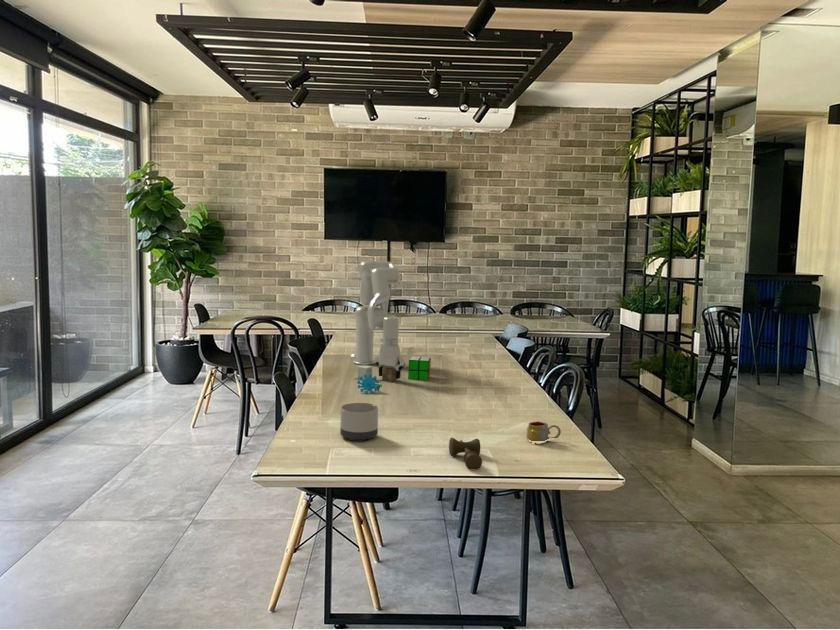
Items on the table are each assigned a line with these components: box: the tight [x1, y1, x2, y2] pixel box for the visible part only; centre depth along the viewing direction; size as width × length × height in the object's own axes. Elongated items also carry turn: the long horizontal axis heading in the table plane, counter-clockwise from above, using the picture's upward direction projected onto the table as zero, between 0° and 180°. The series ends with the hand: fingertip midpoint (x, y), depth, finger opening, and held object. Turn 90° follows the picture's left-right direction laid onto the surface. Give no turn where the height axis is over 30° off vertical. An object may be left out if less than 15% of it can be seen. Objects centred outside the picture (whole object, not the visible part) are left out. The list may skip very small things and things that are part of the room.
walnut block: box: [381, 366, 397, 383], centre depth 309 cm, size 5×5×6 cm
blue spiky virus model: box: [356, 374, 383, 395], centre depth 286 cm, size 11×6×10 cm
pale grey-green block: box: [357, 365, 373, 380], centre depth 310 cm, size 5×5×6 cm
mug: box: [526, 420, 562, 441], centre depth 221 cm, size 12×7×7 cm, turn 96°
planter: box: [339, 402, 379, 441], centre depth 219 cm, size 13×13×10 cm
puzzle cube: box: [407, 356, 432, 381], centre depth 317 cm, size 10×10×10 cm
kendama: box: [448, 437, 483, 470], centre depth 201 cm, size 6×10×20 cm
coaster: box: [378, 378, 401, 384], centre depth 309 cm, size 8×8×1 cm
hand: (389, 377), depth 309 cm, fingers open, 9 cm apart
